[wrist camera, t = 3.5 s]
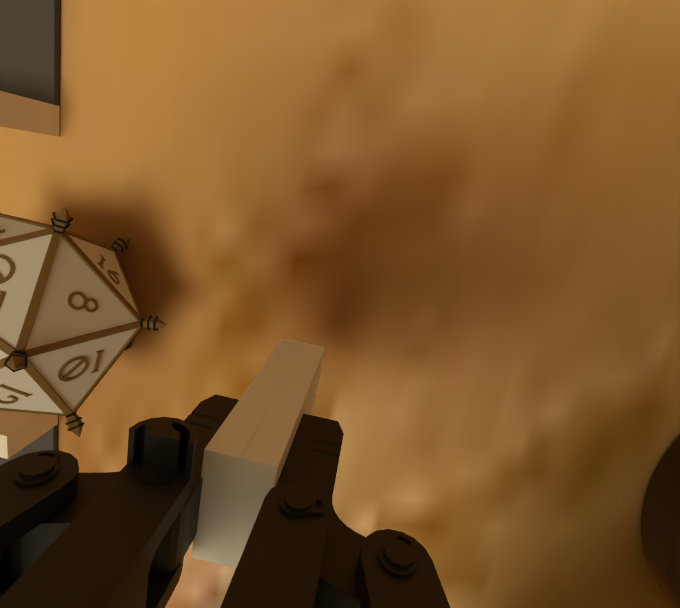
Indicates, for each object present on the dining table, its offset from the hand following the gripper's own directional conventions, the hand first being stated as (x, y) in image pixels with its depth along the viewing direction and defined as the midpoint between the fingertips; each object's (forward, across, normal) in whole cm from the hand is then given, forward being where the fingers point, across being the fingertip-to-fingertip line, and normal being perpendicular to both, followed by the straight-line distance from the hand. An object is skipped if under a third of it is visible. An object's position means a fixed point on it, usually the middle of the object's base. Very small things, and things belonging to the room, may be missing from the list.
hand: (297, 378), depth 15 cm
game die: (+5, +10, 0) cm, 12 cm away
